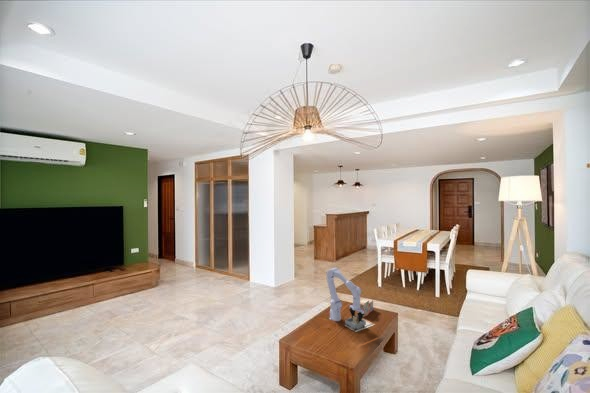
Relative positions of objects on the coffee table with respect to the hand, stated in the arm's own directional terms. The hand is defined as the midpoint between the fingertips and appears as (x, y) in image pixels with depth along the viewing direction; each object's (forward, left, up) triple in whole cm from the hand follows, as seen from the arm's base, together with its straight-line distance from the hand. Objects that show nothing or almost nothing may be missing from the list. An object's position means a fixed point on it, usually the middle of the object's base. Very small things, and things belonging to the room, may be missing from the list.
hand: (356, 319), depth 228 cm
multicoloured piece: (-15, +25, -7) cm, 30 cm away
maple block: (0, 0, -2) cm, 2 cm away
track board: (0, +4, -6) cm, 7 cm away
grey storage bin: (0, -2, -5) cm, 6 cm away
